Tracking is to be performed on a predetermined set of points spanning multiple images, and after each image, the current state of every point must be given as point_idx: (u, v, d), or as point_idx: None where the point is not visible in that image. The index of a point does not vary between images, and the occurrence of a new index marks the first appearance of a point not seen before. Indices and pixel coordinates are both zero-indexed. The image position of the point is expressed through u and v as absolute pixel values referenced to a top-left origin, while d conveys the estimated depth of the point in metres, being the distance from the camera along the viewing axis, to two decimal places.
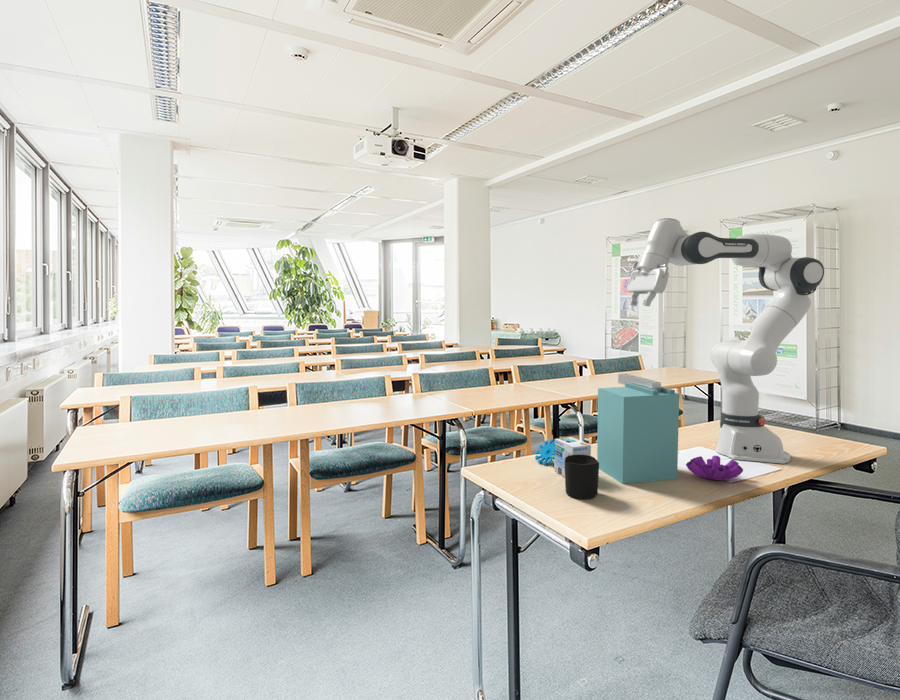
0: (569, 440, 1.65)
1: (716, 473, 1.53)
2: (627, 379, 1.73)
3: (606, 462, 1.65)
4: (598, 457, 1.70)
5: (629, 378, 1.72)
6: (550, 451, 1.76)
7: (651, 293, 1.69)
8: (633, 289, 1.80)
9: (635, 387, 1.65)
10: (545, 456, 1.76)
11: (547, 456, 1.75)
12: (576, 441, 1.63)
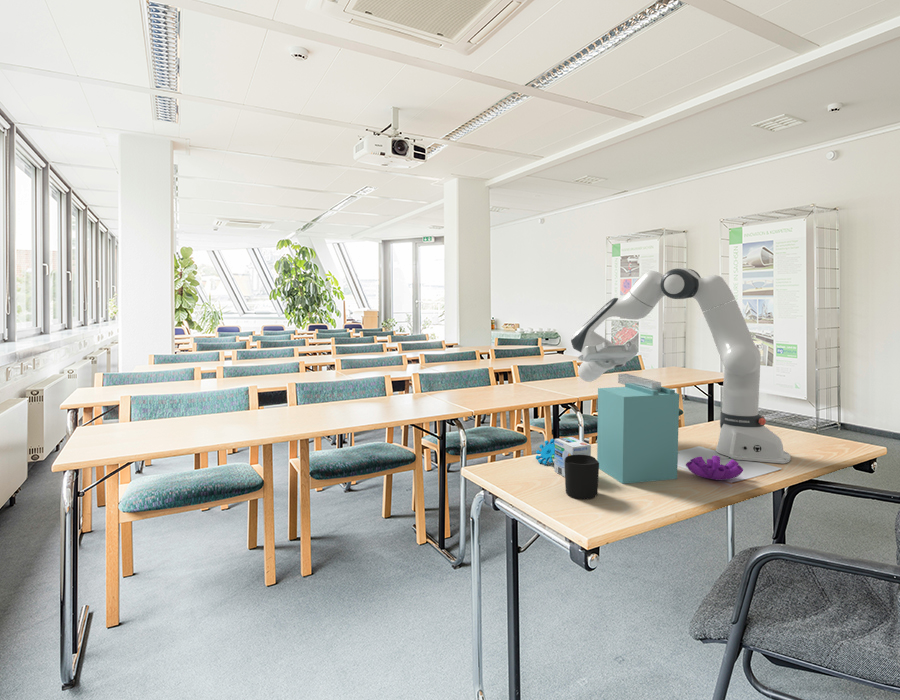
0: (569, 440, 1.65)
1: (716, 473, 1.53)
2: (627, 379, 1.73)
3: (606, 462, 1.65)
4: (598, 457, 1.70)
5: (629, 378, 1.72)
6: (550, 451, 1.76)
7: (597, 350, 1.90)
8: (624, 353, 1.93)
9: (635, 387, 1.65)
10: (545, 456, 1.76)
11: (547, 456, 1.75)
12: (576, 441, 1.63)
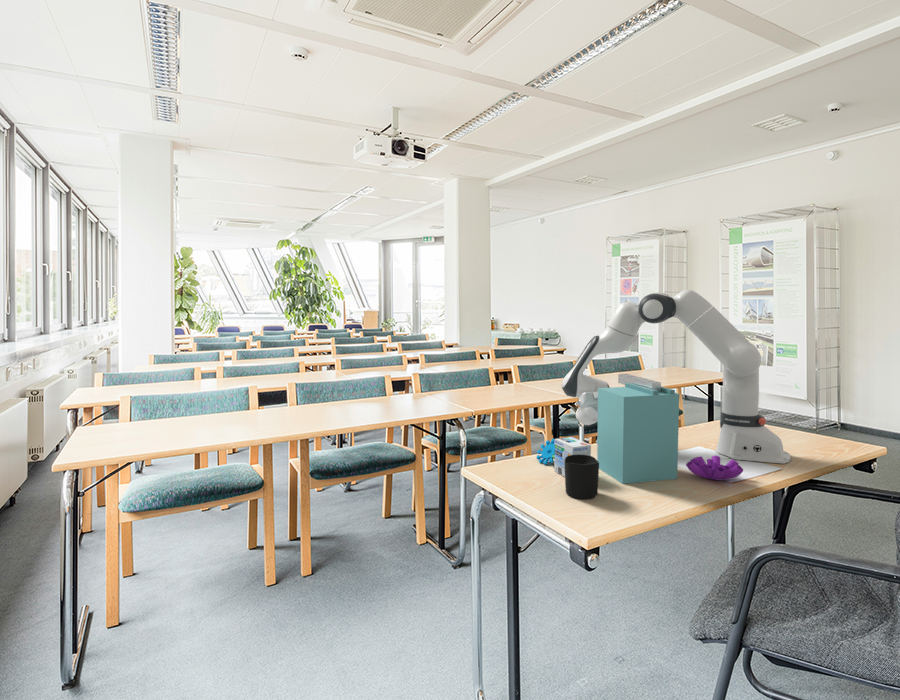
0: (569, 440, 1.65)
1: (716, 473, 1.53)
2: (627, 379, 1.73)
3: (606, 462, 1.65)
4: (598, 457, 1.70)
5: (629, 378, 1.72)
6: (551, 451, 1.76)
7: (594, 397, 1.86)
8: None
9: (635, 387, 1.65)
10: (546, 456, 1.76)
11: (548, 456, 1.75)
12: (576, 441, 1.63)
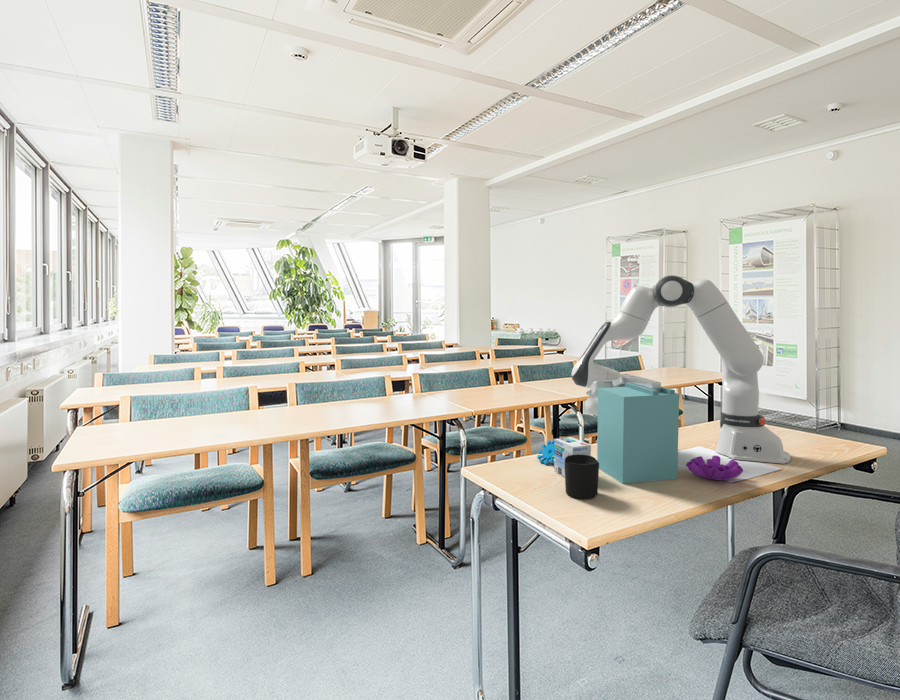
0: (569, 440, 1.65)
1: (716, 473, 1.53)
2: (627, 379, 1.73)
3: (606, 462, 1.65)
4: (598, 457, 1.70)
5: (629, 378, 1.72)
6: (552, 451, 1.76)
7: (613, 385, 1.77)
8: None
9: (635, 387, 1.65)
10: (547, 456, 1.76)
11: (548, 456, 1.75)
12: (576, 441, 1.63)
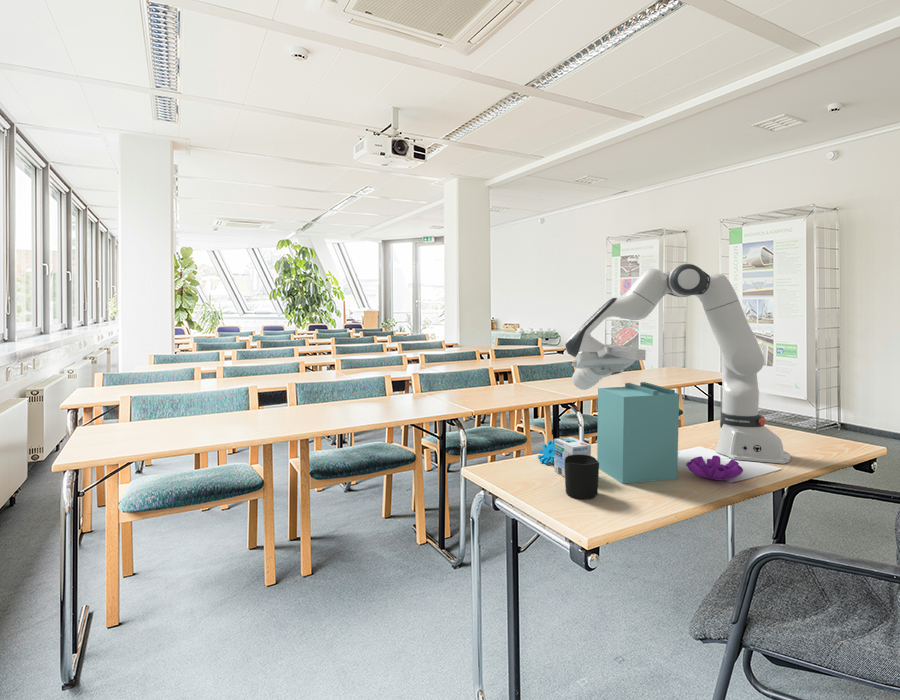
0: (569, 440, 1.65)
1: (716, 473, 1.53)
2: (612, 349, 1.70)
3: (606, 462, 1.65)
4: (598, 457, 1.70)
5: (614, 348, 1.68)
6: (552, 451, 1.76)
7: (598, 355, 1.74)
8: (621, 359, 1.76)
9: (635, 387, 1.65)
10: (547, 456, 1.76)
11: (549, 456, 1.75)
12: (576, 441, 1.63)
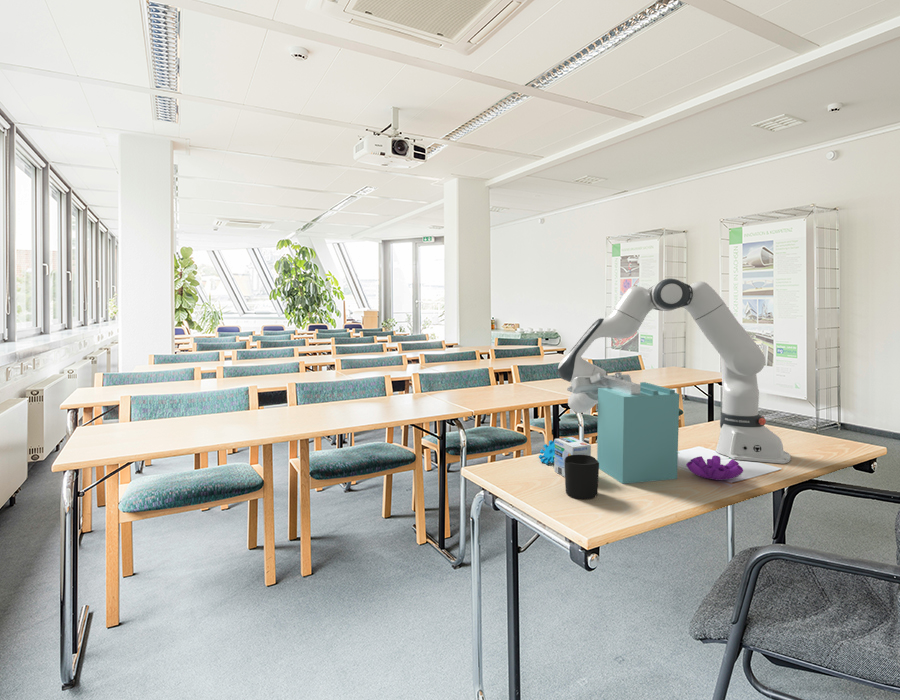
0: (569, 440, 1.65)
1: (716, 473, 1.53)
2: (607, 381, 1.70)
3: (606, 462, 1.65)
4: (598, 457, 1.70)
5: (609, 380, 1.68)
6: (553, 451, 1.76)
7: (591, 381, 1.73)
8: None
9: None
10: (548, 456, 1.76)
11: (549, 456, 1.75)
12: (576, 441, 1.63)
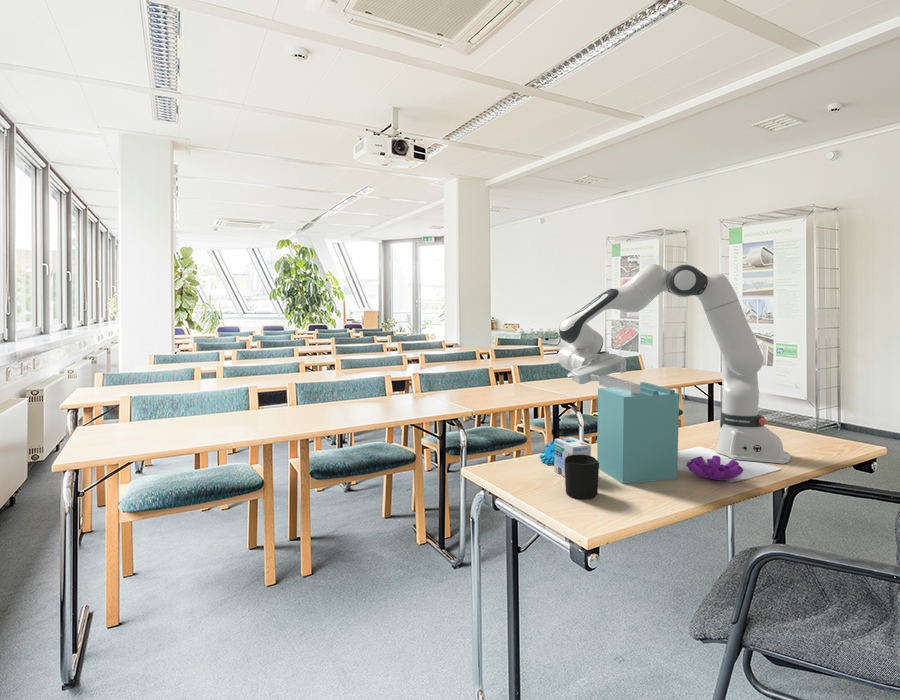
0: (569, 440, 1.65)
1: (716, 473, 1.53)
2: (607, 381, 1.70)
3: (606, 462, 1.65)
4: (598, 457, 1.70)
5: (609, 380, 1.68)
6: (553, 451, 1.76)
7: (590, 379, 1.82)
8: None
9: None
10: (548, 455, 1.76)
11: (550, 456, 1.76)
12: (576, 441, 1.63)
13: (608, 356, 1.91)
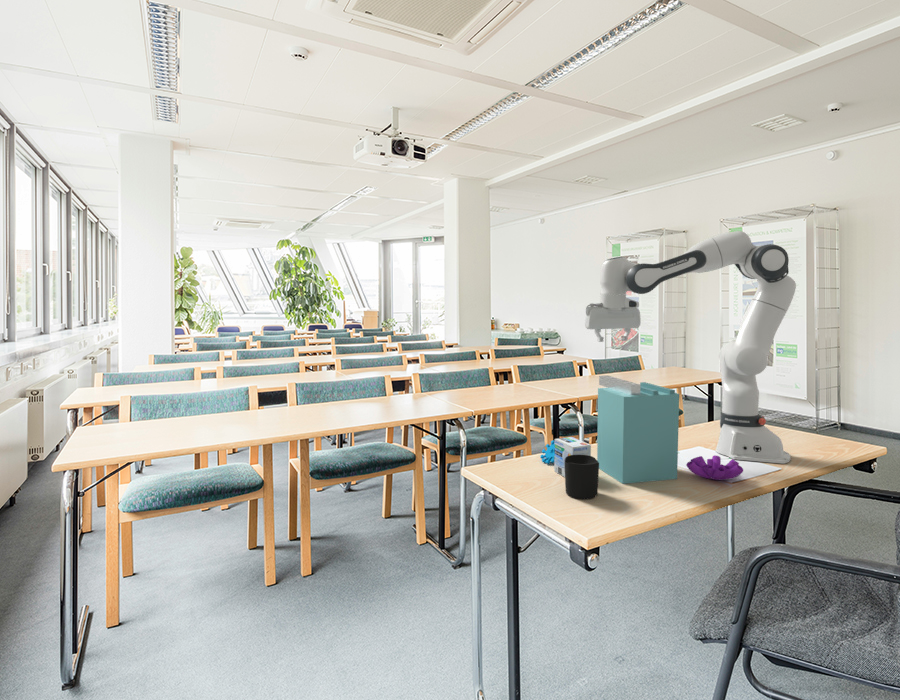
0: (569, 440, 1.65)
1: (716, 473, 1.53)
2: (607, 381, 1.70)
3: (606, 462, 1.65)
4: (598, 457, 1.70)
5: (609, 380, 1.68)
6: (554, 451, 1.76)
7: (595, 330, 1.89)
8: None
9: None
10: (549, 455, 1.76)
11: (550, 455, 1.76)
12: (576, 441, 1.63)
13: (633, 311, 1.89)
